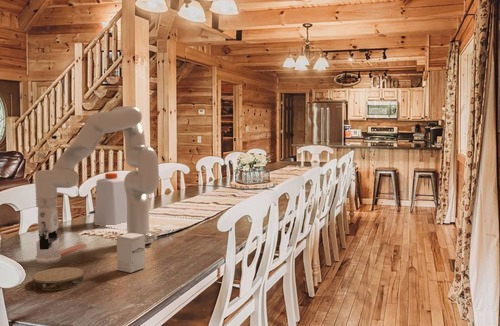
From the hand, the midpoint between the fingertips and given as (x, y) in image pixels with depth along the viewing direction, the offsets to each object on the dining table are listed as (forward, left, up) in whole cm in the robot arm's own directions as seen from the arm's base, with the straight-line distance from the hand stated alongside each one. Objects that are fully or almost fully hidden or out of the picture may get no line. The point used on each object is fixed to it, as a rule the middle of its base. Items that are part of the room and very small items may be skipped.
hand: (48, 246), depth 190 cm
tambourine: (-20, +20, -7) cm, 29 cm away
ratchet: (0, 0, -6) cm, 6 cm away
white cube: (0, 0, -4) cm, 4 cm away
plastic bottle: (+13, -66, -6) cm, 67 cm away
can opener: (+36, -93, -7) cm, 100 cm away
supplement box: (-36, 0, -6) cm, 36 cm away
